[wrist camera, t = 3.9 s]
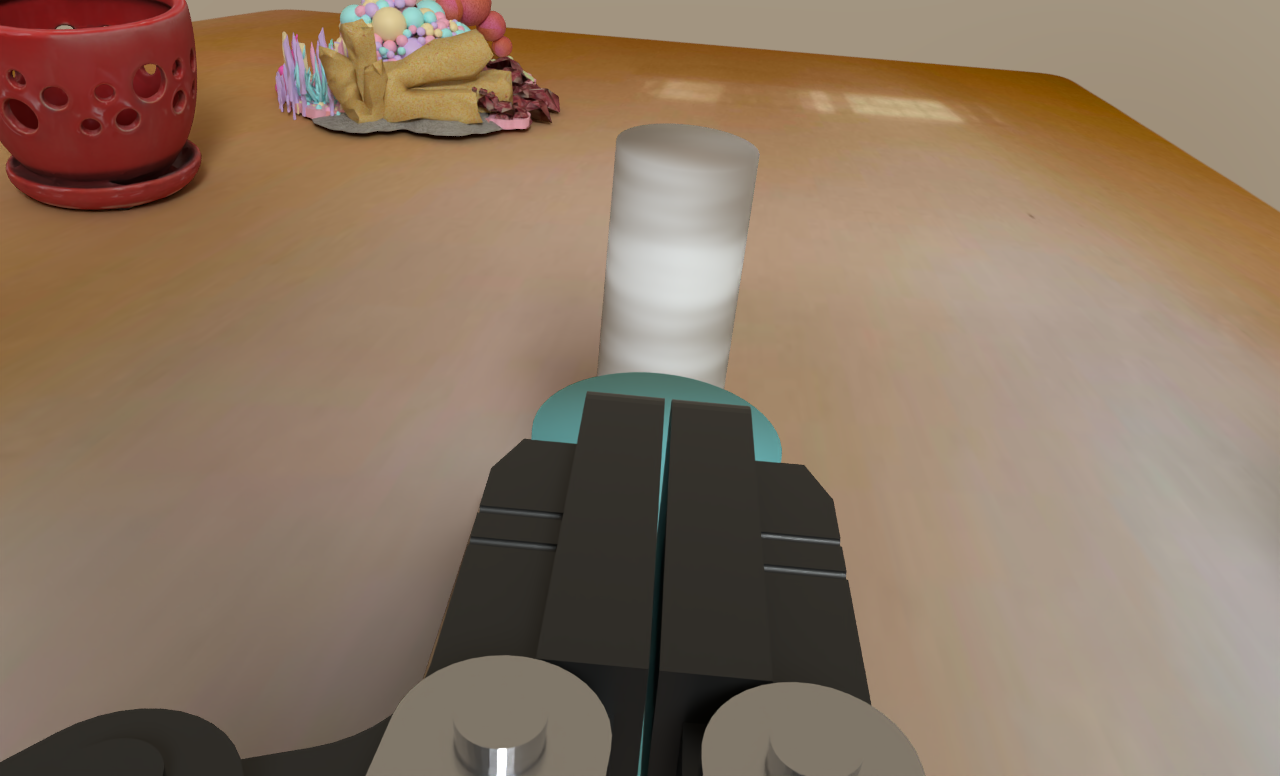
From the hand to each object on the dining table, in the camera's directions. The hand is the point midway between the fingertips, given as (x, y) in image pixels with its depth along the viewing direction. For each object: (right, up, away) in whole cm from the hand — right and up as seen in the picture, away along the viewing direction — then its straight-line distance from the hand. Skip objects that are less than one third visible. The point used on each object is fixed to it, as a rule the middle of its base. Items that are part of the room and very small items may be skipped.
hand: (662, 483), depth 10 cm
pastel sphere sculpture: (-20, +26, +85) cm, 91 cm away
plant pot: (-36, +14, +62) cm, 73 cm away
